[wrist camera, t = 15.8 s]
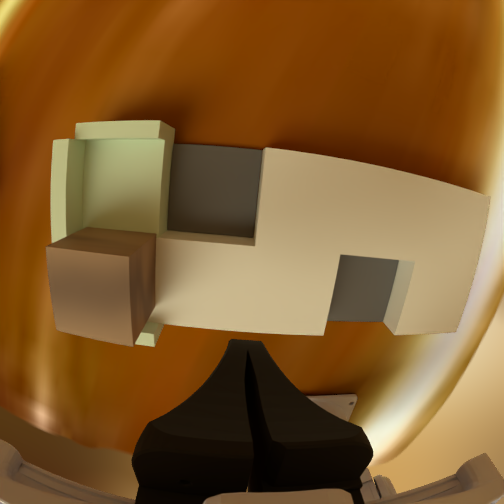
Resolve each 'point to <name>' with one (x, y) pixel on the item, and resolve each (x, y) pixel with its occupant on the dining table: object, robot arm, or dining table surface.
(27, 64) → the dining table surface
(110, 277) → the walnut block
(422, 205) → the board
